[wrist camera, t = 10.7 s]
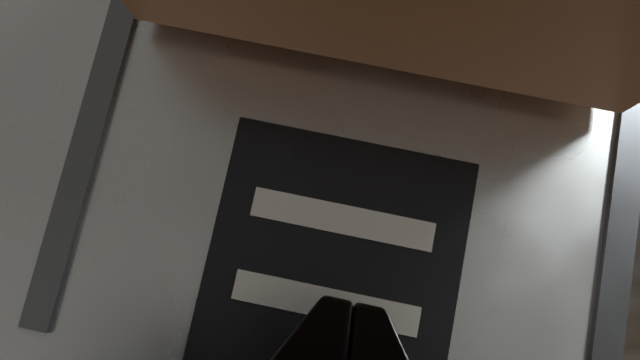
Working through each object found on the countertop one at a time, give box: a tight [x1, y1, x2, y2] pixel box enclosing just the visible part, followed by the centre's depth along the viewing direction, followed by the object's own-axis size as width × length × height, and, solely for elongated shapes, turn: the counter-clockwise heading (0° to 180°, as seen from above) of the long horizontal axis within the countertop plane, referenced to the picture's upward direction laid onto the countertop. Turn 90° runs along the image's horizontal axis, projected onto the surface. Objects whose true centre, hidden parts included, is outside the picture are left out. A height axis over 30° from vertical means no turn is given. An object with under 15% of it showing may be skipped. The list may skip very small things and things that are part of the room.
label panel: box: [0, 0, 640, 360], centre depth 15 cm, size 14×30×1 cm, turn 78°
